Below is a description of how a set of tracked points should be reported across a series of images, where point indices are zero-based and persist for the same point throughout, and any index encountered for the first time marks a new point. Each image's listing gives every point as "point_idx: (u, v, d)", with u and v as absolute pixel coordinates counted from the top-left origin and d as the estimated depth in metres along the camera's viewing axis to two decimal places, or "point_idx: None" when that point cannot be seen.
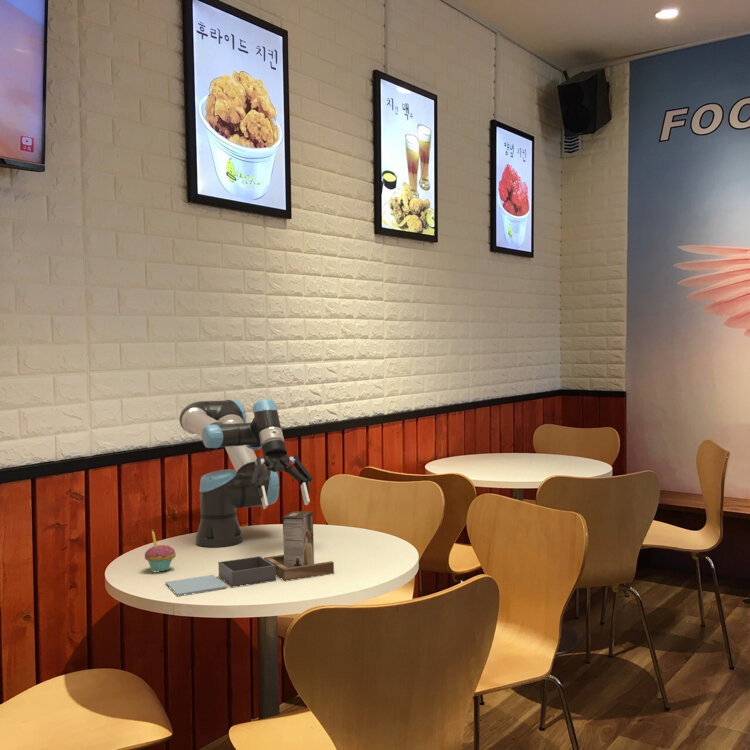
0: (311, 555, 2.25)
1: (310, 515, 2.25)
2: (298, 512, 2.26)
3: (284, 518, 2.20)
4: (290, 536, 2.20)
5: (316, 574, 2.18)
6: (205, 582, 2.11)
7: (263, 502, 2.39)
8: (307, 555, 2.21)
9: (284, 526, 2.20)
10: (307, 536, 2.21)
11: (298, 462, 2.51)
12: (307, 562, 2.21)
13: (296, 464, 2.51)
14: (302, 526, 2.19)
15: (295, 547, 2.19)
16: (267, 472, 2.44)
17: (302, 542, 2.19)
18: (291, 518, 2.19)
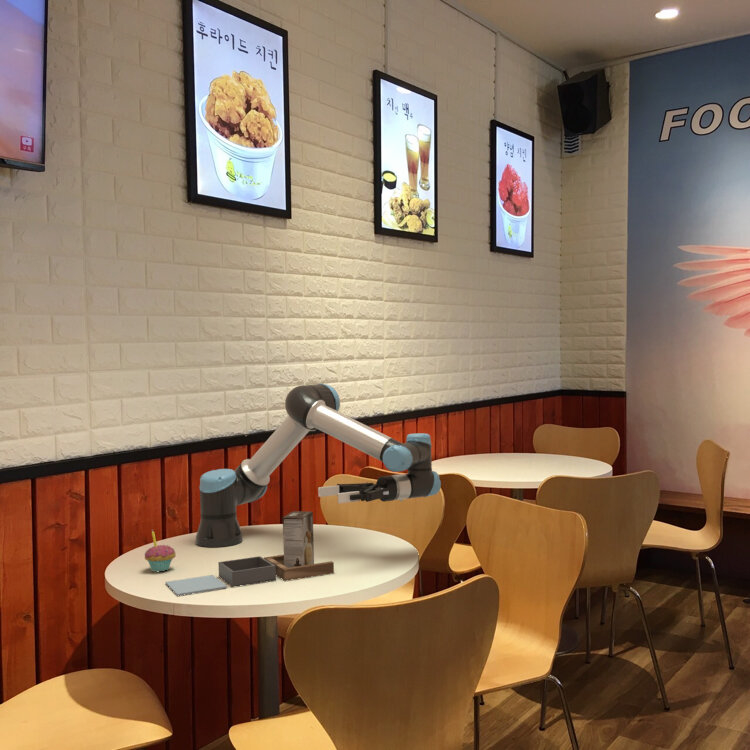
0: (311, 555, 2.25)
1: (310, 515, 2.25)
2: (298, 512, 2.26)
3: (284, 518, 2.20)
4: (290, 536, 2.20)
5: (316, 574, 2.18)
6: (205, 582, 2.11)
7: (344, 497, 2.23)
8: (307, 555, 2.21)
9: (285, 526, 2.20)
10: (307, 536, 2.21)
11: None
12: (307, 562, 2.21)
13: None
14: (302, 526, 2.19)
15: (295, 547, 2.19)
16: None
17: (302, 542, 2.19)
18: (291, 518, 2.19)
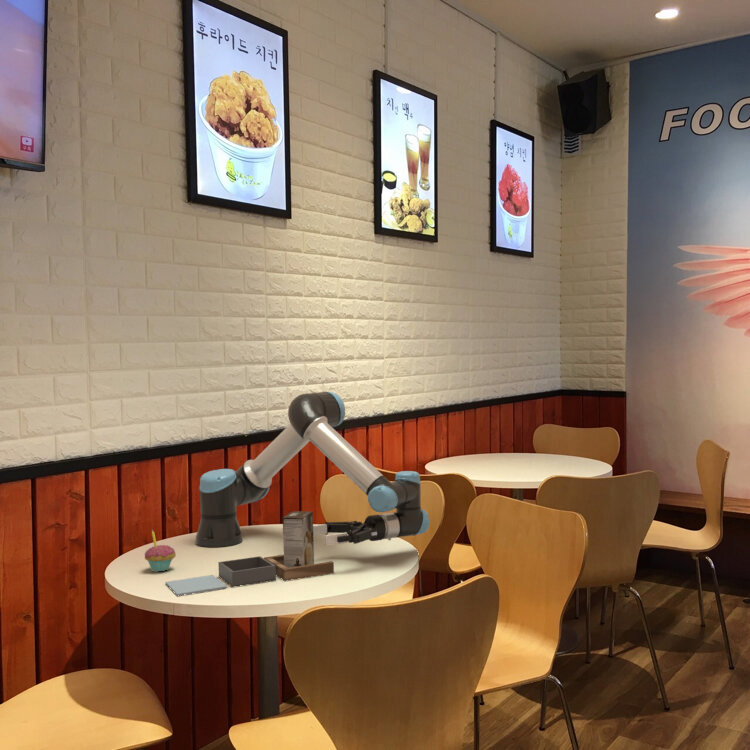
0: (311, 555, 2.25)
1: (310, 515, 2.25)
2: (298, 512, 2.26)
3: (284, 518, 2.20)
4: (290, 536, 2.20)
5: (316, 574, 2.18)
6: (205, 582, 2.11)
7: (331, 539, 2.20)
8: (307, 555, 2.21)
9: (285, 526, 2.20)
10: (307, 536, 2.21)
11: None
12: (307, 562, 2.21)
13: None
14: (302, 526, 2.19)
15: (295, 547, 2.19)
16: None
17: (302, 542, 2.19)
18: (291, 518, 2.19)
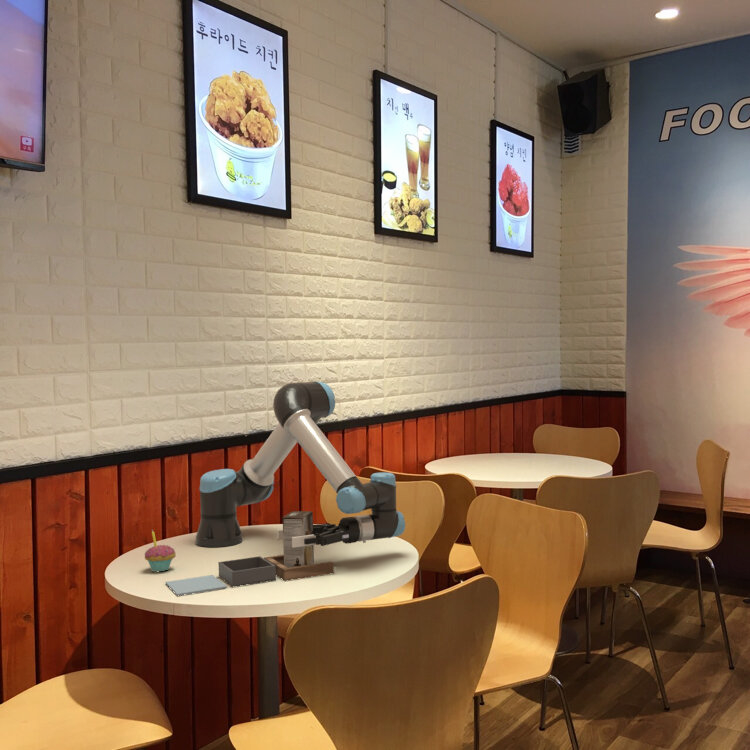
0: (311, 554, 2.25)
1: (310, 515, 2.25)
2: (298, 512, 2.26)
3: (284, 518, 2.20)
4: (290, 536, 2.20)
5: (316, 574, 2.18)
6: (205, 582, 2.11)
7: (298, 541, 2.17)
8: (307, 555, 2.21)
9: (284, 526, 2.20)
10: None
11: None
12: (307, 562, 2.21)
13: None
14: (302, 526, 2.19)
15: (295, 547, 2.19)
16: None
17: None
18: (291, 518, 2.19)
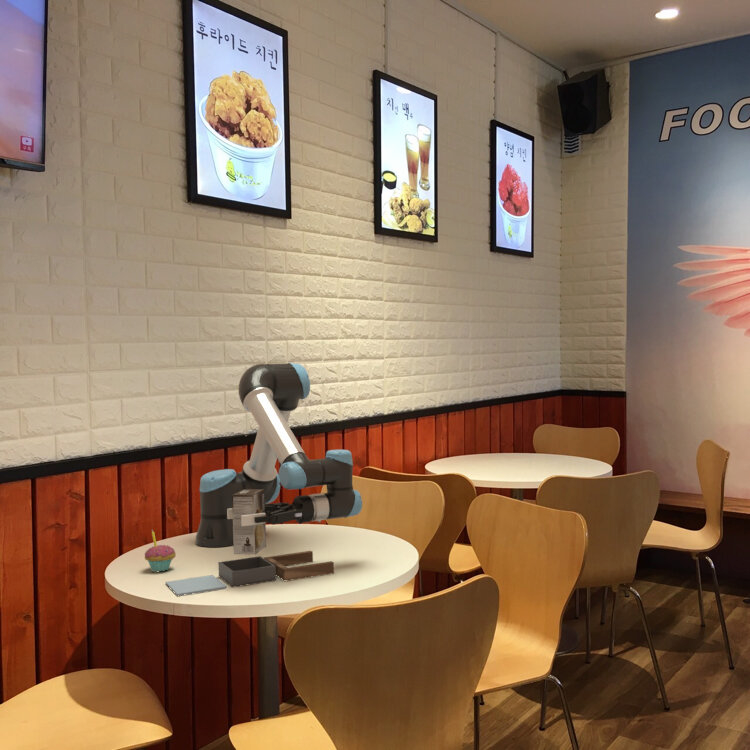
0: (263, 534, 2.16)
1: (261, 493, 2.15)
2: (249, 490, 2.16)
3: (233, 495, 2.10)
4: (240, 514, 2.10)
5: (316, 574, 2.18)
6: (205, 582, 2.11)
7: (248, 520, 2.07)
8: (258, 534, 2.11)
9: (234, 504, 2.10)
10: None
11: None
12: (257, 541, 2.11)
13: None
14: (252, 504, 2.09)
15: (245, 526, 2.09)
16: None
17: None
18: (241, 495, 2.09)
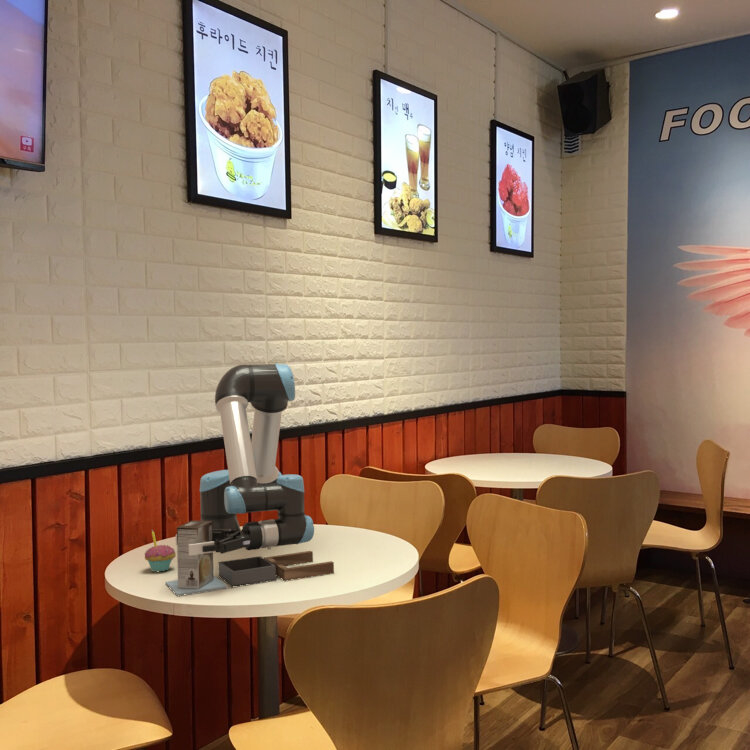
0: (210, 567, 2.11)
1: (208, 525, 2.11)
2: (196, 522, 2.12)
3: (178, 528, 2.06)
4: (184, 548, 2.06)
5: (316, 574, 2.18)
6: None
7: (195, 549, 2.03)
8: (203, 568, 2.07)
9: (179, 537, 2.06)
10: None
11: None
12: (202, 575, 2.07)
13: None
14: (197, 537, 2.05)
15: (189, 559, 2.05)
16: None
17: (197, 555, 2.05)
18: (185, 528, 2.05)
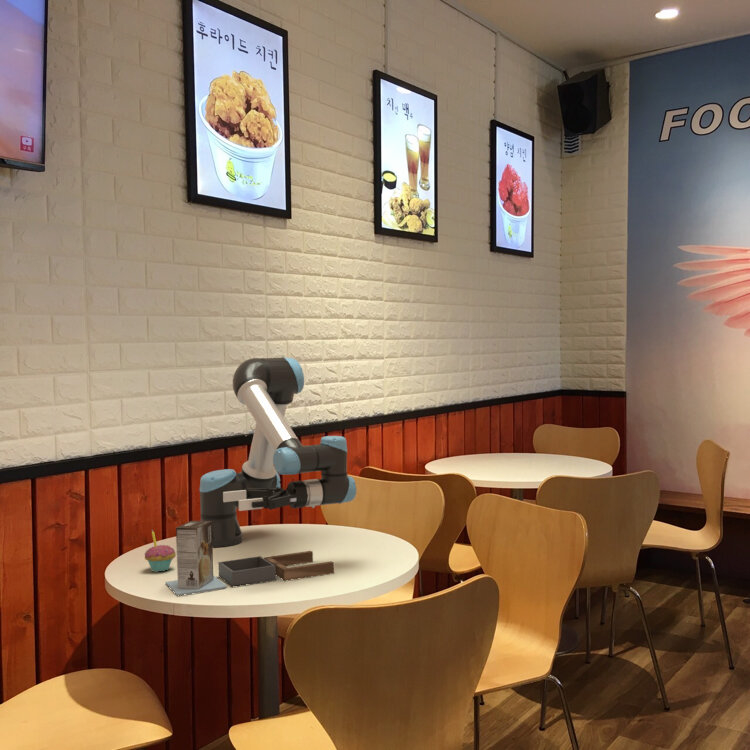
0: (210, 567, 2.11)
1: (208, 525, 2.11)
2: (195, 522, 2.12)
3: (177, 528, 2.06)
4: (184, 548, 2.06)
5: (316, 574, 2.18)
6: None
7: (245, 504, 2.08)
8: (203, 568, 2.07)
9: (178, 537, 2.06)
10: (203, 548, 2.08)
11: None
12: (202, 575, 2.07)
13: None
14: (196, 537, 2.05)
15: (189, 560, 2.05)
16: None
17: (196, 555, 2.05)
18: (185, 528, 2.05)
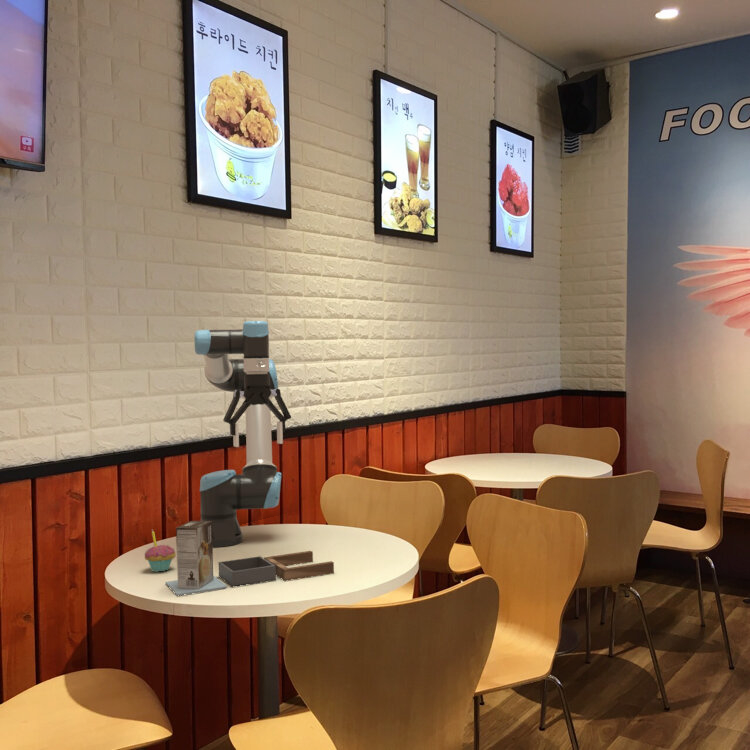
0: (210, 567, 2.11)
1: (208, 525, 2.11)
2: (195, 522, 2.12)
3: (177, 528, 2.06)
4: (184, 548, 2.06)
5: (316, 574, 2.18)
6: None
7: (234, 441, 2.30)
8: (203, 568, 2.07)
9: (178, 537, 2.06)
10: (203, 548, 2.08)
11: (279, 398, 2.36)
12: (202, 575, 2.07)
13: (277, 399, 2.36)
14: (196, 537, 2.05)
15: (189, 560, 2.05)
16: (244, 409, 2.30)
17: (196, 555, 2.05)
18: (185, 528, 2.05)
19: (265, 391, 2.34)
